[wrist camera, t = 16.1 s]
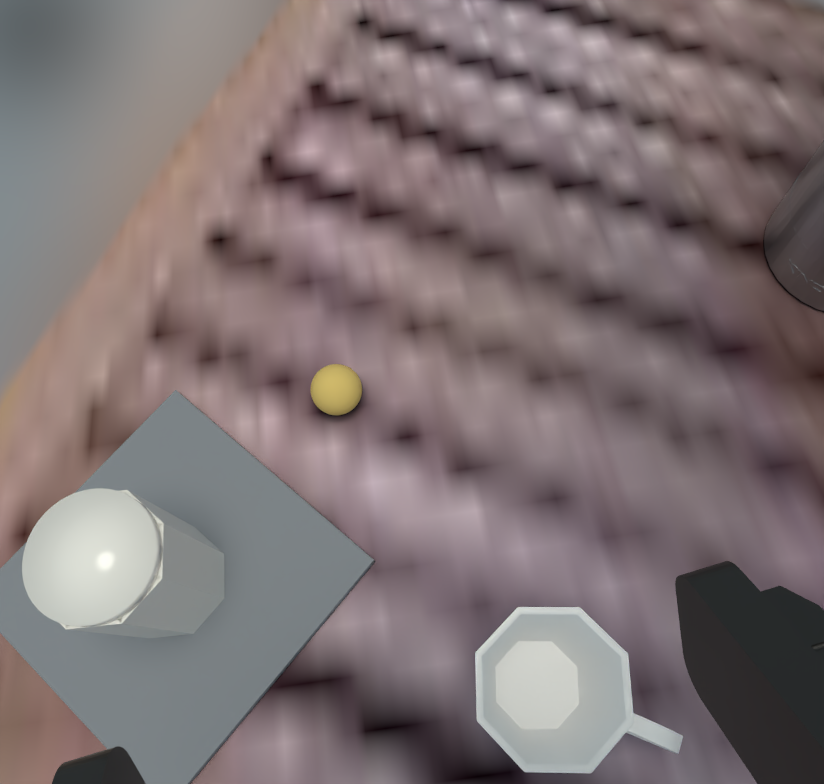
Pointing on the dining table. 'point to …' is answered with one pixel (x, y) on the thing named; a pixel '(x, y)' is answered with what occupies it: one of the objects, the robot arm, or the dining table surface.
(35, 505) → the dining table surface
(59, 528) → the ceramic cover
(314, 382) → the ball
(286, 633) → the rubber mat
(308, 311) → the dining table surface
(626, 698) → the cup
